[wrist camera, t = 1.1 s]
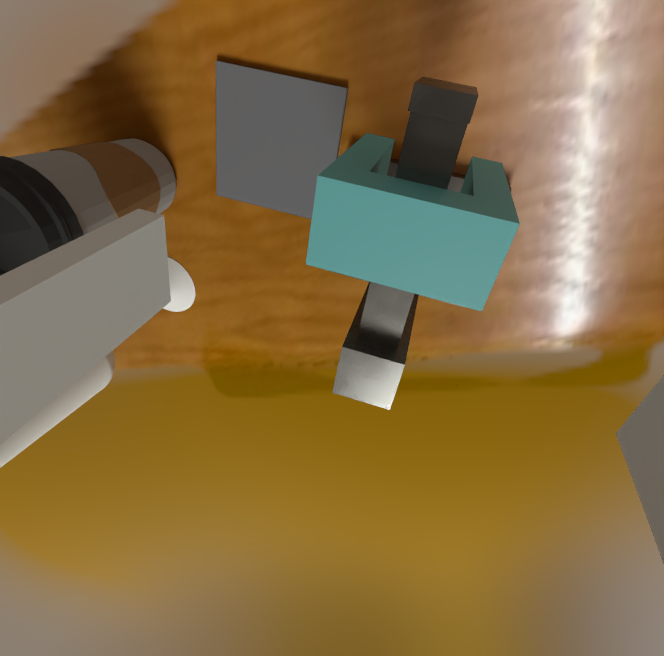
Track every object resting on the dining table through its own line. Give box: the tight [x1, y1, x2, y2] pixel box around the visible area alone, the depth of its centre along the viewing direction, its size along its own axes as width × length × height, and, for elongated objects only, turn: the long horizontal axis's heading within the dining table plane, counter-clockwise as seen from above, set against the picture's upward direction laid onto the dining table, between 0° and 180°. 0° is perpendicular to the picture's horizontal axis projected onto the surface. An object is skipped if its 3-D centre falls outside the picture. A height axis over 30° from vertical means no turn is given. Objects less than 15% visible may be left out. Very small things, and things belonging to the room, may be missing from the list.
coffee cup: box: [0, 138, 176, 276], centre depth 32 cm, size 8×8×15 cm
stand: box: [331, 77, 511, 410], centre depth 25 cm, size 12×16×18 cm
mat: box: [216, 61, 348, 219], centre depth 33 cm, size 10×10×1 cm
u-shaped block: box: [306, 133, 520, 311], centre depth 19 cm, size 7×4×9 cm, turn 81°
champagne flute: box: [0, 257, 195, 468], centre depth 35 cm, size 7×7×24 cm
